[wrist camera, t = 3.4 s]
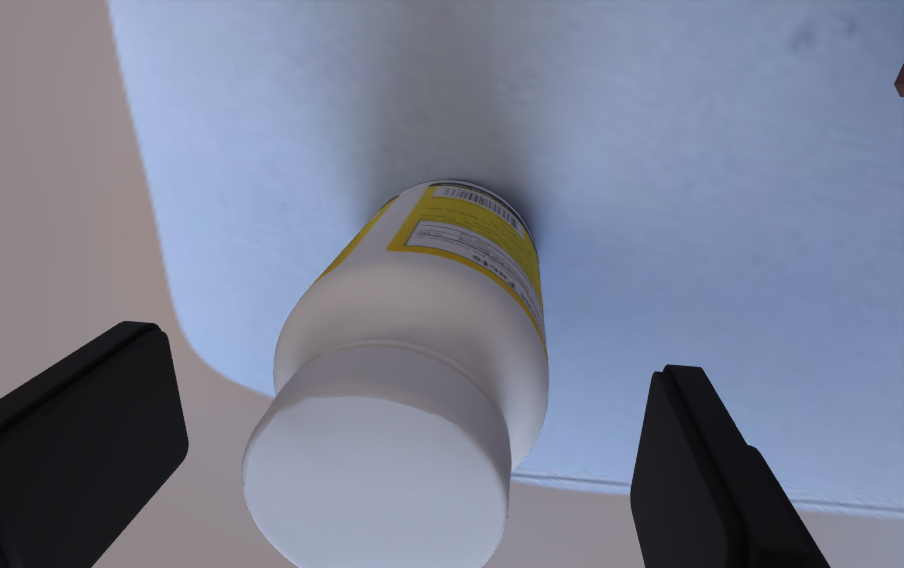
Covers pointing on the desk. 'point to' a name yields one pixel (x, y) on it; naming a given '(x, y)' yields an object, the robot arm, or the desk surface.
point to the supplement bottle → (405, 390)
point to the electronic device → (900, 82)
